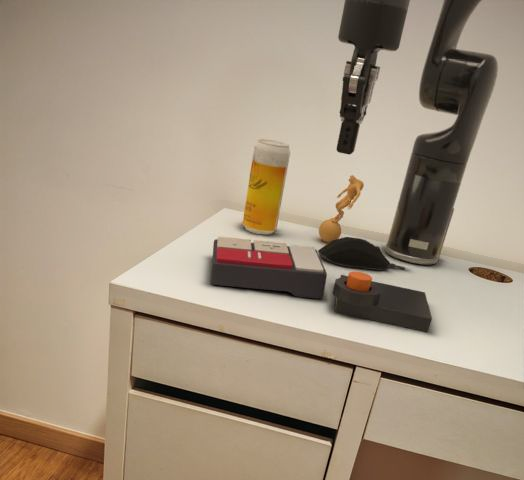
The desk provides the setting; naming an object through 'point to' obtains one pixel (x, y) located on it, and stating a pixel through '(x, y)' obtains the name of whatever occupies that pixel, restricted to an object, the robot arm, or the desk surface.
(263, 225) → the beer can
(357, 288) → the button
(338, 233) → the figurine
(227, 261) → the red grey electronic device
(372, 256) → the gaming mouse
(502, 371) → the desk surface
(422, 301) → the black orange button box
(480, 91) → the robot arm
